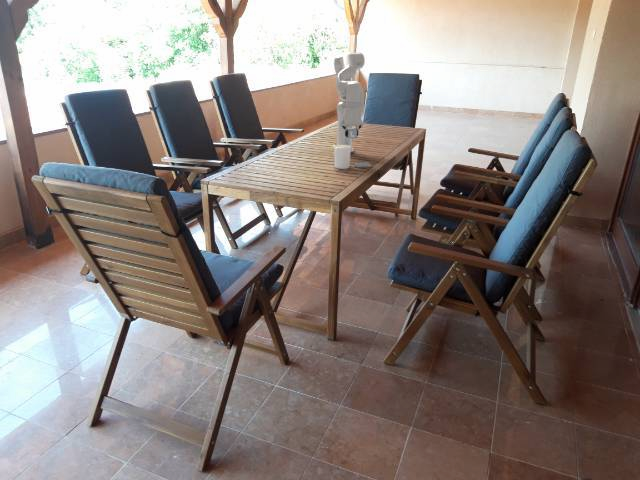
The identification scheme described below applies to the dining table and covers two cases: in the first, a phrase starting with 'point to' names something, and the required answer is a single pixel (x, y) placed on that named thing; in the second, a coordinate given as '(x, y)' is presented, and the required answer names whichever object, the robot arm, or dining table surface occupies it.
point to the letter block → (352, 133)
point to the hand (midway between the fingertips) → (351, 136)
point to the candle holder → (342, 156)
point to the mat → (362, 165)
